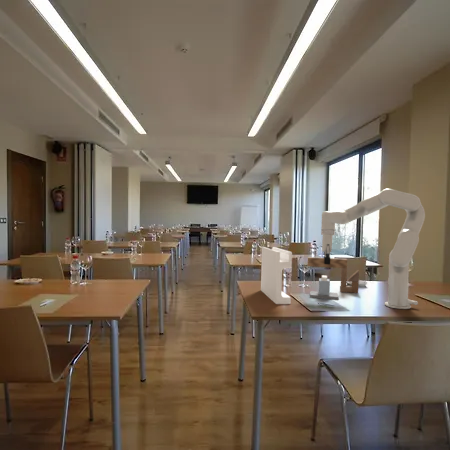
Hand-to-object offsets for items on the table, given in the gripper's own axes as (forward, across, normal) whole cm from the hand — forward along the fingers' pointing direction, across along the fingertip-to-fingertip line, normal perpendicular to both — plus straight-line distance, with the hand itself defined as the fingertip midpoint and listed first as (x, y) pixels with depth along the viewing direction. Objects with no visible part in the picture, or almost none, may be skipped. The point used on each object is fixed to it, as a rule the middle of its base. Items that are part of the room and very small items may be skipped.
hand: (326, 263), depth 200 cm
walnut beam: (+2, 0, 0) cm, 2 cm away
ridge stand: (+20, -5, -1) cm, 21 cm away
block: (+21, +6, -29) cm, 36 cm away
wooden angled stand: (+21, -23, +16) cm, 35 cm away
